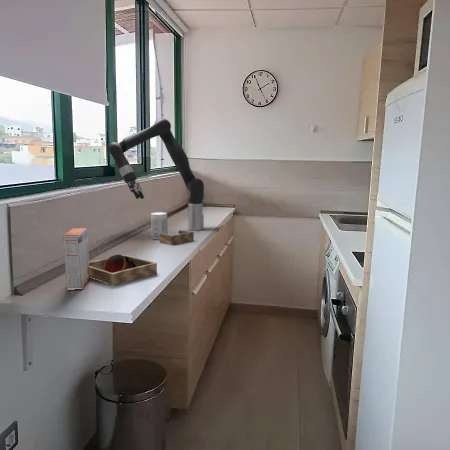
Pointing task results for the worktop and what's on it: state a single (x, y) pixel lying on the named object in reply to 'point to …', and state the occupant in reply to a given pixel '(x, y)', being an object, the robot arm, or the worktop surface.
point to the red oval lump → (118, 263)
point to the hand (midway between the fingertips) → (140, 198)
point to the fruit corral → (139, 271)
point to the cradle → (177, 237)
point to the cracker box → (76, 257)
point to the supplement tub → (158, 224)
